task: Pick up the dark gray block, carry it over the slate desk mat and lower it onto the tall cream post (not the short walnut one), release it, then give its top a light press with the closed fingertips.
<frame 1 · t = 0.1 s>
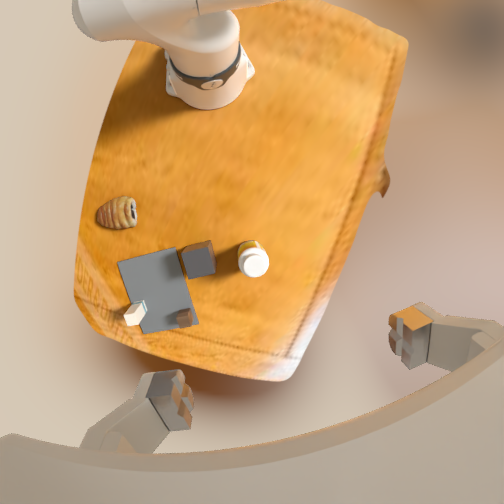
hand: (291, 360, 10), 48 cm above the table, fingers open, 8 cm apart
post: (140, 306, 58), resting on mat
mat: (157, 293, 58), on the table
dark gray block: (201, 255, 57), on the table
pastry: (121, 213, 54), on the table
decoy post: (186, 313, 59), resting on mat
supplement bottle: (250, 252, 58), on the table
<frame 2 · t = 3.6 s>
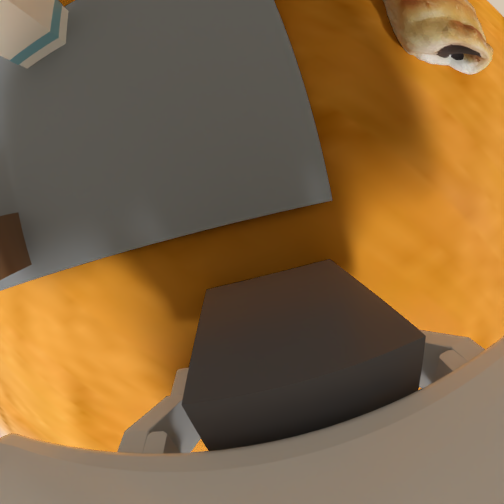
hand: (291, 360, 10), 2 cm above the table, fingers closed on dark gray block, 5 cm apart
post: (46, 38, 7), resting on mat
mat: (83, 100, 9), on the table
dark gray block: (281, 329, 12), on the table, touching gripper
pastry: (416, 16, 9), on the table
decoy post: (9, 245, 10), resting on mat
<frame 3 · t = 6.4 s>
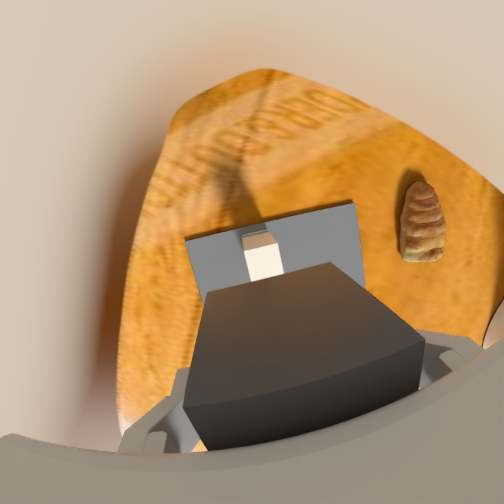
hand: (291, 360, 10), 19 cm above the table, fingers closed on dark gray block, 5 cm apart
post: (257, 244, 28), resting on mat
mat: (285, 284, 30), on the table
dark gray block: (281, 331, 12), point 17 cm above the table, touching gripper
pastry: (414, 225, 29), on the table
when the fingers open (4 cm above the table, at t = 9.2 s): dark gray block stays where it is, resting on post.
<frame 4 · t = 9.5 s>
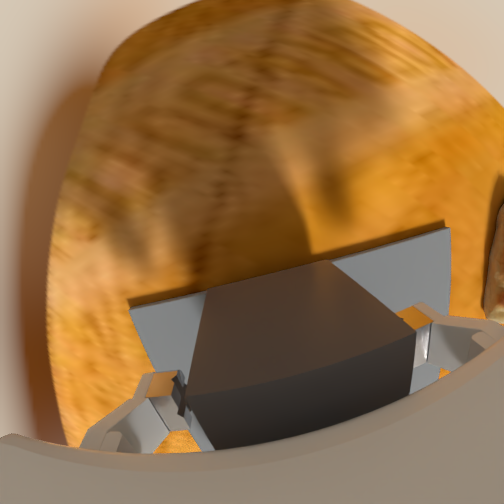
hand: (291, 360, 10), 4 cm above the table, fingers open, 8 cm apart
mat: (323, 376, 15), on the table
dark gray block: (280, 327, 12), point 1 cm above the table, touching post
pastry: (501, 262, 15), on the table
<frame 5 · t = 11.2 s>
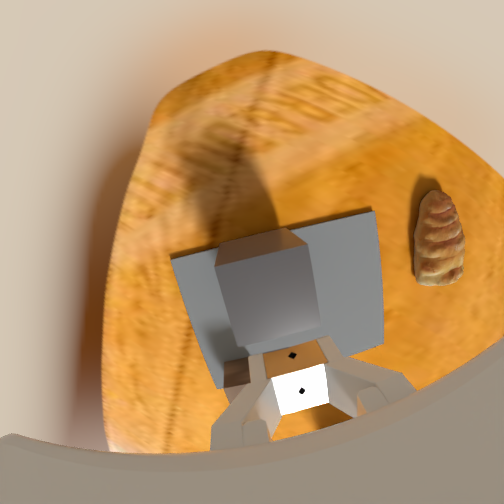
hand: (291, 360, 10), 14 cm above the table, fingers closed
mat: (292, 308, 24), on the table
dark gray block: (260, 266, 22), point 1 cm above the table, touching post
pastry: (430, 241, 25), on the table
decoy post: (240, 369, 25), resting on mat
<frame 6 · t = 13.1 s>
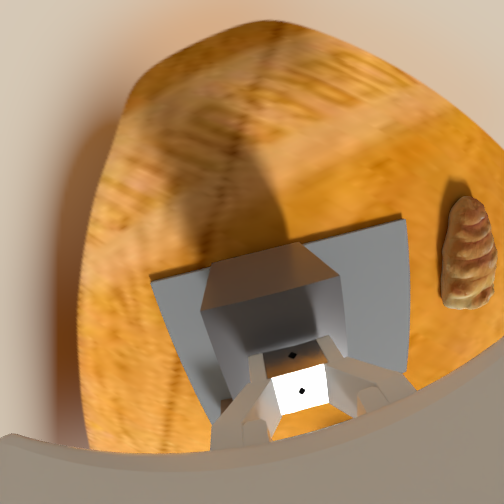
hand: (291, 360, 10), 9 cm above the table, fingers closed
mat: (303, 339, 19), on the table
dark gray block: (265, 292, 17), point 1 cm above the table, touching post
pastry: (458, 255, 19), on the table
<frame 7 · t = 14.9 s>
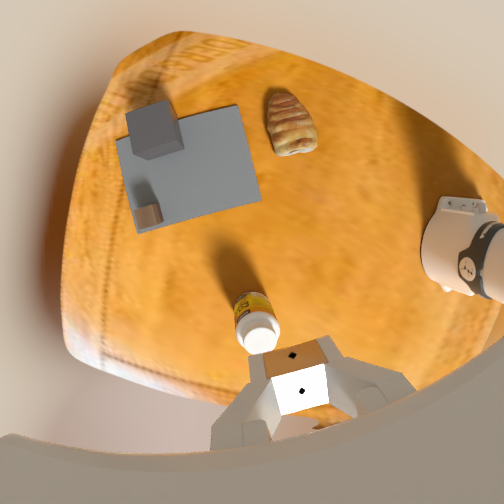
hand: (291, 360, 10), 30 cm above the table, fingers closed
mat: (185, 168, 36), on the table
dark gray block: (162, 137, 33), point 1 cm above the table, touching post
pastry: (287, 129, 37), on the table
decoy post: (153, 214, 36), resting on mat
supplement bottle: (251, 307, 41), on the table
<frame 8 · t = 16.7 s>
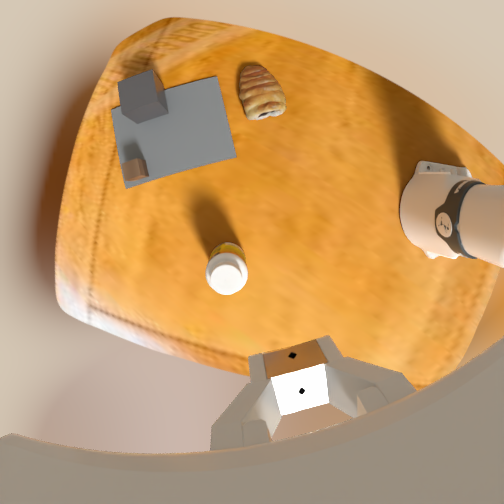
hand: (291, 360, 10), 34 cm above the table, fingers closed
mat: (169, 130, 38), on the table
dark gray block: (150, 104, 36), point 1 cm above the table, touching post
pastry: (259, 97, 39), on the table
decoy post: (139, 171, 39), resting on mat
supplement bottle: (227, 258, 44), on the table
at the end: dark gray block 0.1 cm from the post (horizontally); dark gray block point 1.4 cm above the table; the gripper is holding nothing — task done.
